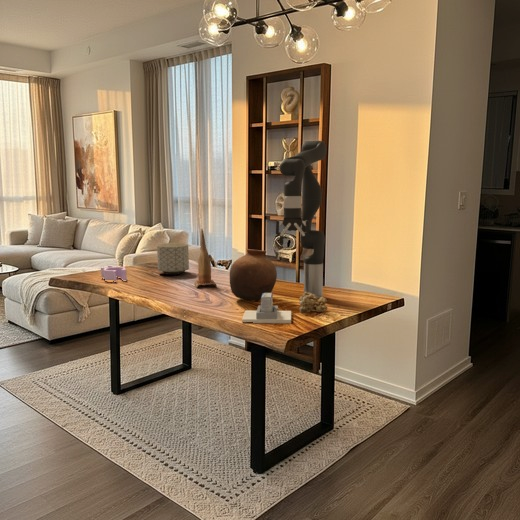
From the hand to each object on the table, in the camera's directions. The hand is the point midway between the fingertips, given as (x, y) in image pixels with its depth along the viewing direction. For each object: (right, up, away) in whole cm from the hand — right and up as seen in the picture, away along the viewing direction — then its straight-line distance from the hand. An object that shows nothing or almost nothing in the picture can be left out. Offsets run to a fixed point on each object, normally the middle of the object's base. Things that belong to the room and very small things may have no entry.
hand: (292, 244), depth 219 cm
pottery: (-17, -26, +29) cm, 43 cm away
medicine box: (-11, -30, -4) cm, 32 cm away
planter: (-67, -15, +98) cm, 120 cm away
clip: (-101, -18, +82) cm, 131 cm away
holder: (-11, -31, -4) cm, 33 cm away
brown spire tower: (-44, -21, +61) cm, 78 cm away
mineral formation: (+9, -29, +9) cm, 32 cm away
